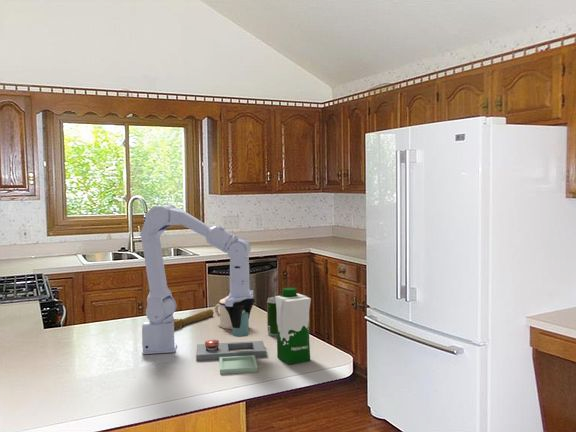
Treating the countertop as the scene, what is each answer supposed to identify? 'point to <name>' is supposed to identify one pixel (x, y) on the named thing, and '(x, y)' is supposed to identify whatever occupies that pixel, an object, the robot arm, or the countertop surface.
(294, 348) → the milk carton
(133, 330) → the countertop surface
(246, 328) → the rotary knob
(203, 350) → the housing
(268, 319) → the beer can
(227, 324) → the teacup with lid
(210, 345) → the plunger
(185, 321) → the tap handle
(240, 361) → the tray
